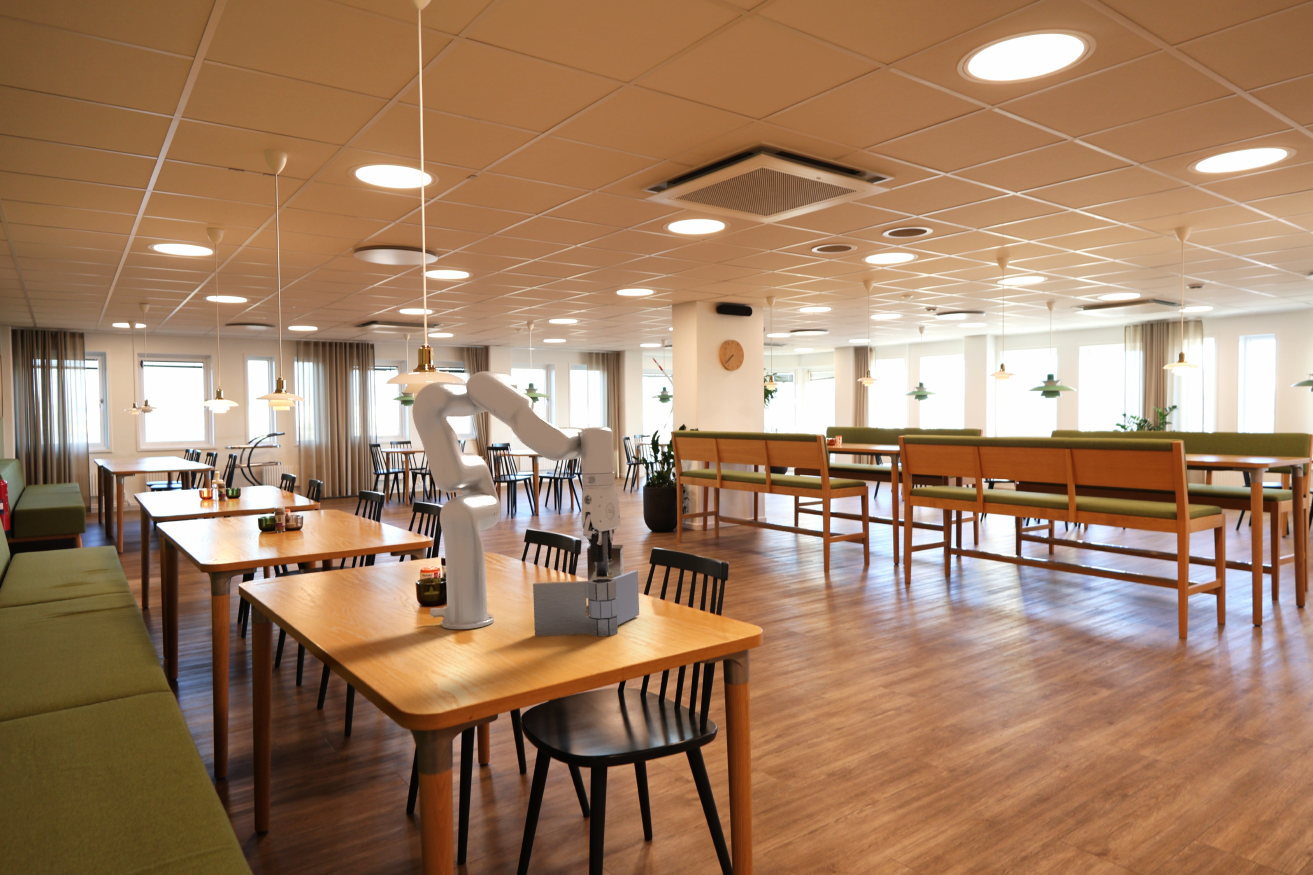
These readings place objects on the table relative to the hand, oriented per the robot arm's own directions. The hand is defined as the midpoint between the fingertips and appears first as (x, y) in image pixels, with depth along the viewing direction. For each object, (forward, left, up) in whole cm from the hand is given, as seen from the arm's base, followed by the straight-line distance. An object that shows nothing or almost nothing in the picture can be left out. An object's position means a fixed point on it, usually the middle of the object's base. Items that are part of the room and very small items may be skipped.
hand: (601, 559), depth 182 cm
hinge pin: (0, 0, -4) cm, 4 cm away
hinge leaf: (+3, +5, -16) cm, 18 cm away
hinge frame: (-6, 0, -17) cm, 18 cm away
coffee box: (0, +26, -17) cm, 31 cm away
